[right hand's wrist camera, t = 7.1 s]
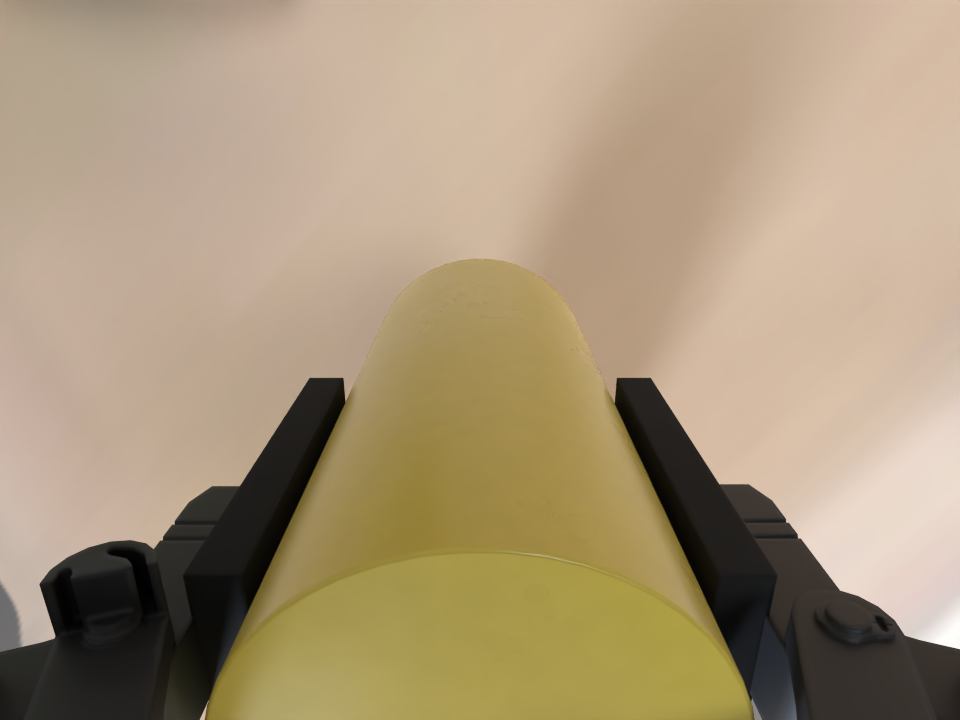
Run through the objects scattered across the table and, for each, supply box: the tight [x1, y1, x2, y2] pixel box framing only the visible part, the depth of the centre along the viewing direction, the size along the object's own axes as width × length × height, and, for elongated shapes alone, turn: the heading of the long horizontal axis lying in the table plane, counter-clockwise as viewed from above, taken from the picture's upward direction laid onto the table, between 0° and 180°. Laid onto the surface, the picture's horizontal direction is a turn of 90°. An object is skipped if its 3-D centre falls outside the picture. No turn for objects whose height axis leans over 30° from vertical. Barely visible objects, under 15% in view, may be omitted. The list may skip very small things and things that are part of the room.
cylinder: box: [205, 259, 754, 720], centre depth 13 cm, size 6×6×13 cm
